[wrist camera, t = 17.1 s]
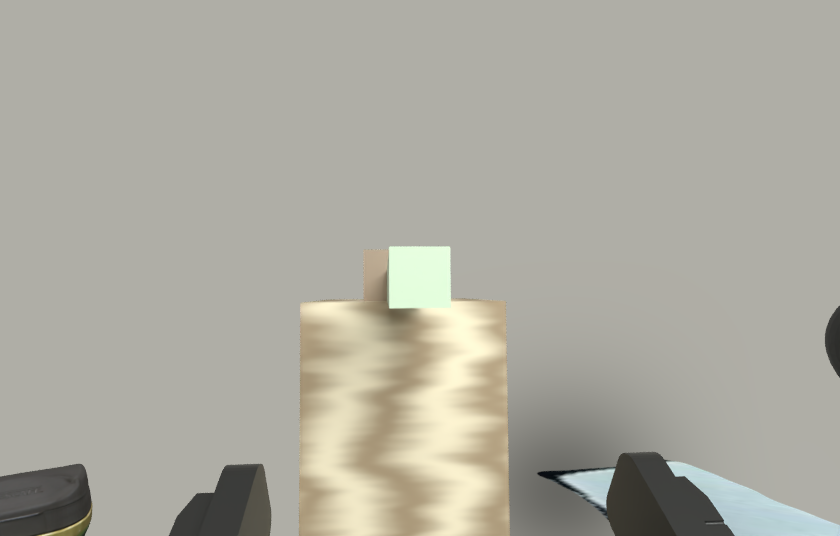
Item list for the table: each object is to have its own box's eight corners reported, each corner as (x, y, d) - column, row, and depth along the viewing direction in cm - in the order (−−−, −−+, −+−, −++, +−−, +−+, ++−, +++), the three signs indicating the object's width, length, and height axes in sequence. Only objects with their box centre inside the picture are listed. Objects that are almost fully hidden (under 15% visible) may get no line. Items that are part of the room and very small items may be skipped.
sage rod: (433, 299, 43) (432, 255, 43) (496, 307, 19) (494, 206, 19) (366, 300, 43) (366, 255, 43) (342, 308, 18) (342, 205, 18)
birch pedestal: (466, 608, 49) (463, 298, 51) (513, 789, 31) (505, 301, 33) (330, 616, 48) (331, 299, 50) (297, 807, 30) (300, 302, 32)
